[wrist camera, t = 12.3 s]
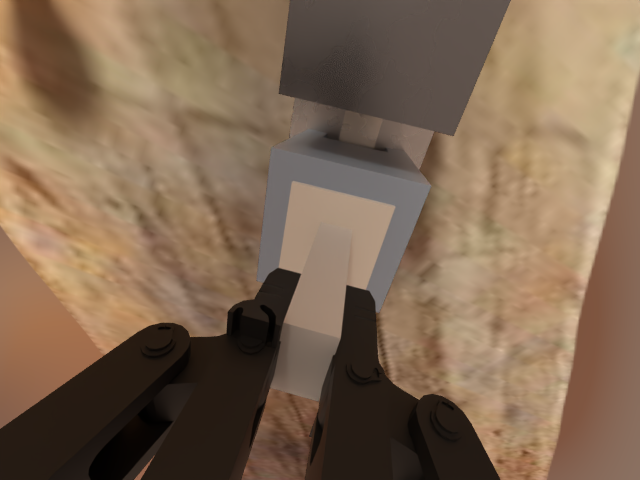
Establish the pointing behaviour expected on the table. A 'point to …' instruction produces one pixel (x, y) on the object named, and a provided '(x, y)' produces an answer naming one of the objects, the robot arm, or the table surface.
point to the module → (340, 206)
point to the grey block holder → (385, 67)
